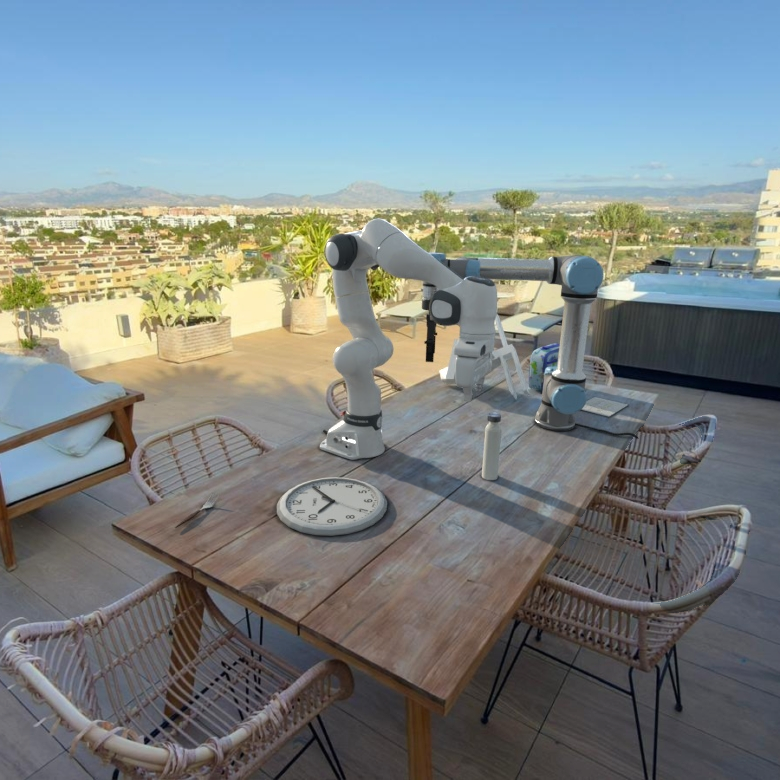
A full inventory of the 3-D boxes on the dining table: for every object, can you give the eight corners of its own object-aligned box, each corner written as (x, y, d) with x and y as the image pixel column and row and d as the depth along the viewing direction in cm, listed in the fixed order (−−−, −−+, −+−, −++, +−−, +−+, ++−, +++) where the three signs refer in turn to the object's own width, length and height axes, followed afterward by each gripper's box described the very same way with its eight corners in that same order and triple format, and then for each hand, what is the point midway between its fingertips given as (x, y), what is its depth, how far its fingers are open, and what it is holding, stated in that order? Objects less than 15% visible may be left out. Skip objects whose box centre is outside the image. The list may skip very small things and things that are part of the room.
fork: (171, 528, 130) (170, 521, 130) (212, 499, 145) (211, 492, 144) (179, 530, 129) (178, 523, 129) (220, 500, 144) (219, 494, 143)
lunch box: (544, 395, 239) (549, 351, 233) (524, 390, 247) (528, 347, 240) (571, 384, 257) (577, 343, 251) (552, 380, 264) (556, 339, 258)
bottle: (484, 480, 158) (489, 419, 152) (479, 473, 163) (484, 413, 157) (499, 479, 159) (505, 418, 153) (494, 472, 163) (499, 412, 157)
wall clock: (392, 527, 129) (268, 531, 127) (391, 533, 130) (269, 537, 127) (383, 473, 158) (282, 475, 155) (383, 478, 158) (282, 480, 156)
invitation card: (608, 416, 214) (573, 407, 224) (608, 416, 214) (573, 408, 224) (628, 404, 229) (594, 396, 238) (628, 405, 229) (594, 397, 238)
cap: (490, 422, 153) (490, 417, 153) (485, 418, 157) (486, 412, 156) (502, 422, 154) (502, 416, 153) (498, 417, 157) (498, 412, 157)
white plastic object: (461, 429, 252) (437, 405, 227) (444, 352, 274) (420, 323, 250) (535, 404, 240) (518, 377, 215) (510, 326, 262) (492, 293, 237)
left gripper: (476, 334, 141) (473, 384, 145) (451, 349, 123) (449, 405, 127) (499, 337, 138) (496, 387, 142) (477, 352, 121) (474, 408, 125)
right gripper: (424, 293, 195) (422, 349, 202) (419, 302, 172) (417, 365, 178) (444, 294, 195) (441, 350, 201) (442, 303, 171) (439, 366, 177)
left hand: (473, 395), depth 135 cm, fingers open, 8 cm apart
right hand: (430, 357), depth 190 cm, fingers open, 13 cm apart
